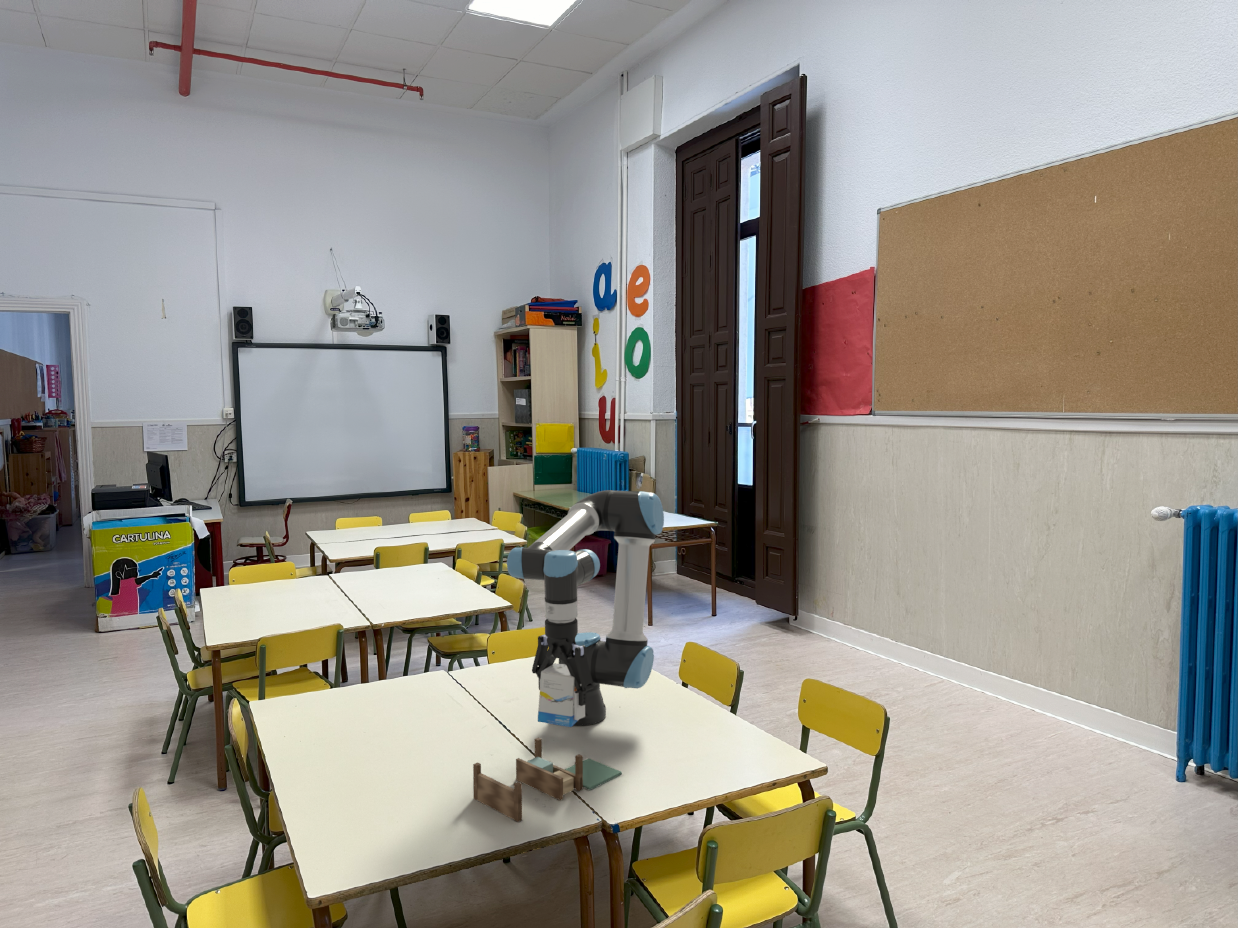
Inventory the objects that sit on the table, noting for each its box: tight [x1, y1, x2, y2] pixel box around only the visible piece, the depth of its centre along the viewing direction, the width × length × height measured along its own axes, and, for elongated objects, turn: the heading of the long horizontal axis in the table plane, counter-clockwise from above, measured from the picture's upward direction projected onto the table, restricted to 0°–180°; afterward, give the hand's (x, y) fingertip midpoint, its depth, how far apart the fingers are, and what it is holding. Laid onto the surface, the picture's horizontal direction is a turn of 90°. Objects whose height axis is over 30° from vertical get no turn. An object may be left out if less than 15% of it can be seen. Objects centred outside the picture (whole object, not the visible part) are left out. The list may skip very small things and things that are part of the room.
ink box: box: [537, 662, 581, 728], centre depth 186 cm, size 9×8×12 cm
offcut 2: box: [553, 770, 575, 796], centre depth 184 cm, size 5×4×3 cm
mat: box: [564, 758, 623, 791], centre depth 192 cm, size 11×11×1 cm
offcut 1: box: [526, 757, 554, 773], centre depth 188 cm, size 5×4×2 cm
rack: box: [472, 737, 584, 823], centre depth 182 cm, size 15×20×8 cm
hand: (562, 711), depth 186 cm, fingers closed on ink box, 11 cm apart
